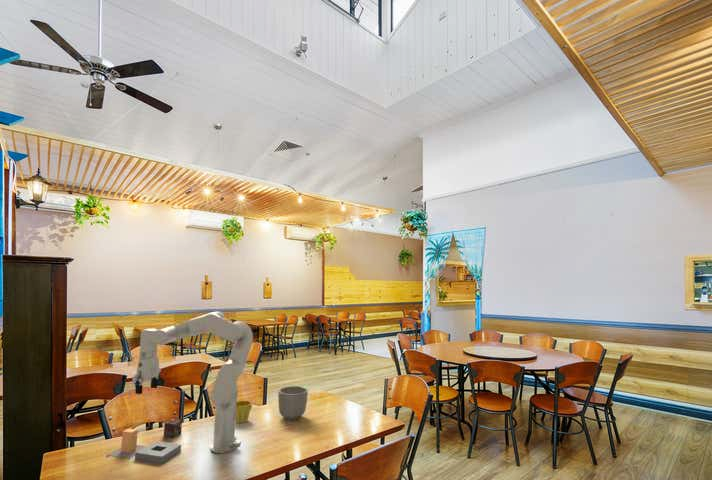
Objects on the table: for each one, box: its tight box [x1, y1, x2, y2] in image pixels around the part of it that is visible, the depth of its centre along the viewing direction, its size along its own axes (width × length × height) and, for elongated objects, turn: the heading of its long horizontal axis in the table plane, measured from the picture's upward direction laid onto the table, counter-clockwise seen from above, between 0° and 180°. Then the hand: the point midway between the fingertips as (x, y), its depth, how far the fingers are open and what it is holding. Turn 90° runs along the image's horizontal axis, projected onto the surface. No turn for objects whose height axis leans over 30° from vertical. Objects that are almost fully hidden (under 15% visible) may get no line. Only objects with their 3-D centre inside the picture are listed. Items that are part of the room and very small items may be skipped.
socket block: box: [134, 440, 182, 465], centre depth 166 cm, size 14×12×4 cm
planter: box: [277, 385, 309, 422], centre depth 216 cm, size 17×17×16 cm
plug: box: [120, 427, 139, 453], centre depth 170 cm, size 5×4×9 cm
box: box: [163, 418, 183, 439], centre depth 188 cm, size 6×6×7 cm
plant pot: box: [235, 400, 253, 424], centre depth 210 cm, size 10×10×10 cm
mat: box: [106, 444, 147, 459], centre depth 170 cm, size 12×12×1 cm
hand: (146, 390), depth 178 cm, fingers open, 9 cm apart
